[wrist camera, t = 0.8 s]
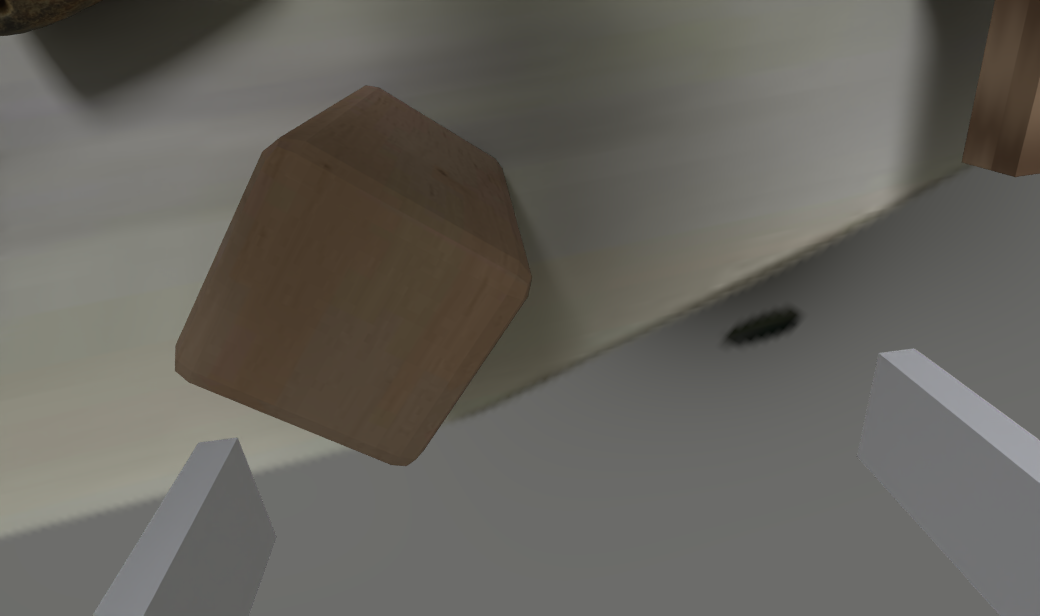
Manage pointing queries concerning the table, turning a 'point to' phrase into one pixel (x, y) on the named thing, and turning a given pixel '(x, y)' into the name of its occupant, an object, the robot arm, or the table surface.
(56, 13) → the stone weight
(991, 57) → the beam
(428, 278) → the wooden block
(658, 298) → the table surface
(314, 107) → the table surface
